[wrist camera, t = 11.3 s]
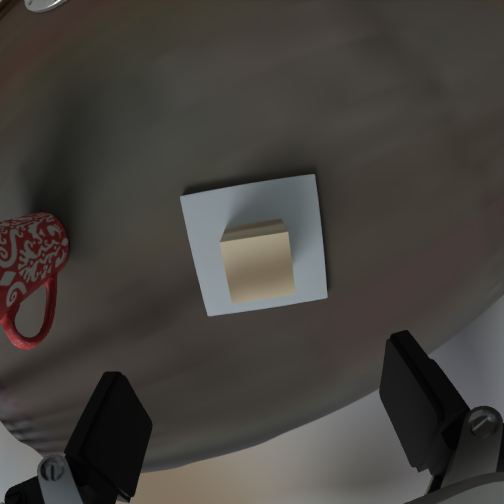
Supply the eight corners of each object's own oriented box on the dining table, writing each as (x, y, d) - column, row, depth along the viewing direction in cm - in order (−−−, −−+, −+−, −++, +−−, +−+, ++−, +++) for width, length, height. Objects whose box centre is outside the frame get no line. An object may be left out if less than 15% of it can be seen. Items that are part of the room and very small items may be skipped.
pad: (182, 195, 26) (179, 196, 25) (312, 173, 25) (314, 174, 25) (208, 312, 29) (207, 316, 29) (325, 294, 29) (327, 297, 28)
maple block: (225, 227, 26) (219, 242, 21) (281, 218, 26) (288, 231, 21) (235, 278, 27) (231, 303, 23) (288, 271, 27) (295, 294, 22)
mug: (12, 229, 27) (-66, 265, 14) (50, 187, 25) (-43, 212, 12) (62, 314, 30) (0, 378, 17) (106, 284, 29) (37, 355, 16)
